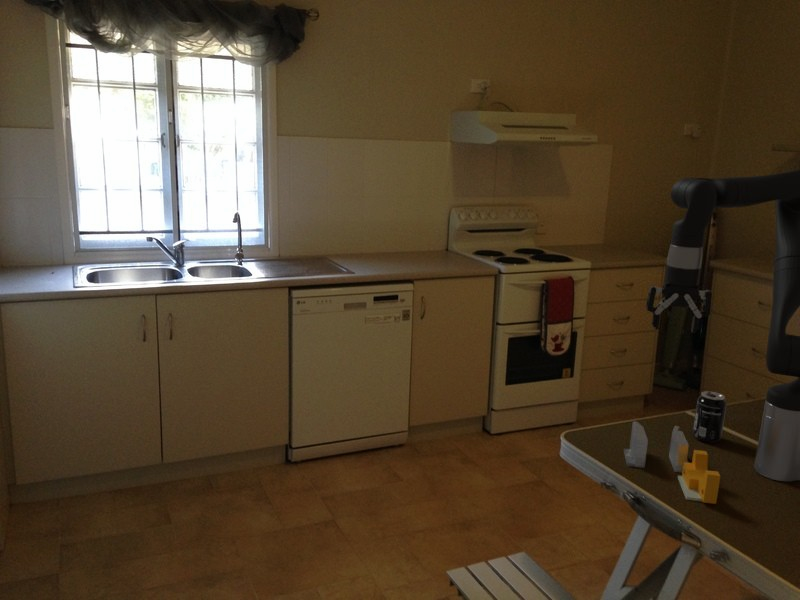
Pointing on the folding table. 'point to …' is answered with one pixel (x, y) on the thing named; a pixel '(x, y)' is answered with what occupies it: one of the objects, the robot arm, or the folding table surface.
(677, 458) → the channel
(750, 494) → the folding table surface
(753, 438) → the folding table surface
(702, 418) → the beverage can
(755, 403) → the folding table surface
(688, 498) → the pad
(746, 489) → the folding table surface
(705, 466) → the pipe clamp
